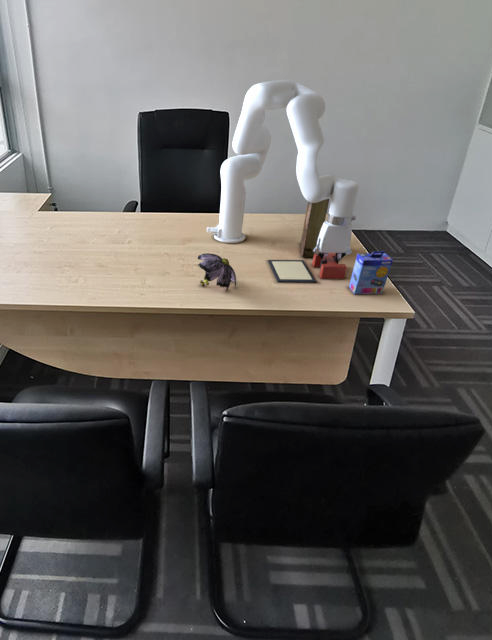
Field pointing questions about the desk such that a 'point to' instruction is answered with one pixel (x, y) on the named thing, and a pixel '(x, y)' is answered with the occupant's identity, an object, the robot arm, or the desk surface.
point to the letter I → (330, 267)
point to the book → (313, 226)
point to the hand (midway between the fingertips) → (328, 269)
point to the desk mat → (291, 271)
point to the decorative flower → (216, 270)
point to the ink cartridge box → (370, 273)
